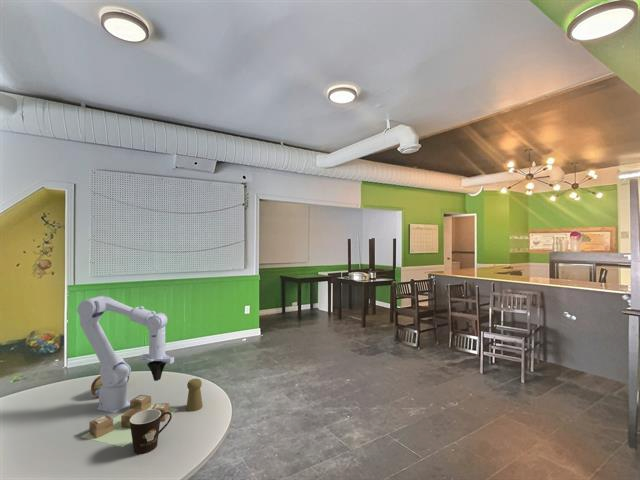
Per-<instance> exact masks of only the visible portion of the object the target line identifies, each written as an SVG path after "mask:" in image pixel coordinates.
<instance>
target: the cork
mask: <svg viewBox="0 0 640 480" xmlns="http://www.w3.org/2000/svg"><path fill="white" fill-rule="evenodd" d="M202 384H203V383H202V380H201V379H200V378H192V379H190V380H189V381H187V386H186V387H187V389H188V394H187V401H186V408H185V409H186V411H187V412H192V413H193V412H198V411H199V410H201V409H203V405H204V404H203V400H202V392H201V387H202Z"/></svg>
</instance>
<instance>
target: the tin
mask: <svg viewBox="0 0 640 480" xmlns="http://www.w3.org/2000/svg"><path fill="white" fill-rule="evenodd" d="M129 379H130V375H129V376H128V380H127V384H128V382H129ZM102 385H103V384H102V382H101V375H100V376H98V377H96V378H95V379H94V380H93V381H92V383H91V386H90V391H91V394H92V395H93V396H95V397H96V398H99V390H100V388H101V386H102Z"/></svg>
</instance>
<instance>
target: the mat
mask: <svg viewBox="0 0 640 480" xmlns="http://www.w3.org/2000/svg"><path fill="white" fill-rule="evenodd" d="M154 405H155V404H152V403H151V407H149V408H148V409H147V410H149V409H152V408H153V406H154ZM129 410H130V408H129V409H127V410H126V411H123V412H122V413H120V414H119V415H117V416H115V417H113V418H112V419H113V431H112V432H110V433H107V434H105V435H103V436H101V437H99V438H95V437H94V436H92V435H91V434H89V432H87V433H85V434H83V435H81V436H80V438H83V439H87V440H91V441H96V442H100V443H104V444H108V445H112V446H116V447H119V448H120V447H121V448H125V446H127V445H128V444H130V443H132V434H131V428H121V416H122V415H123V414H125V413H126V412H127V411H129ZM178 410H179V409H178V408H173V407H169V412H170V413H171V415H172V414H174V413H176V412H177V411H178ZM168 417H170V415H168ZM161 422H162V421H160V423H161Z"/></svg>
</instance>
